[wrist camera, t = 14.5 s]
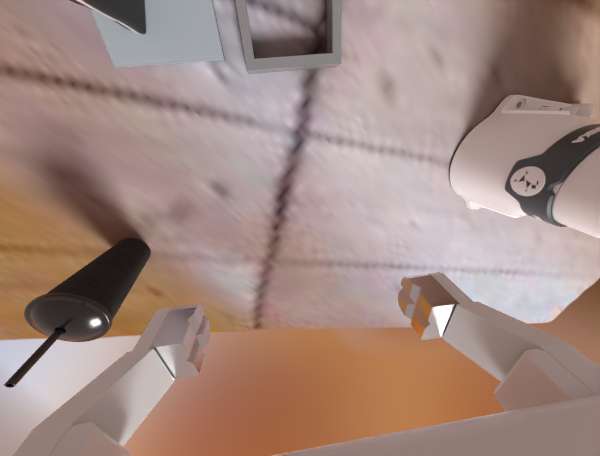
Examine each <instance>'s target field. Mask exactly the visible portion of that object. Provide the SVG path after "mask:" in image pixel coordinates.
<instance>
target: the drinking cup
mask: <svg viewBox="0 0 600 456" xmlns="http://www.w3.org/2000/svg"><path fill="white" fill-rule="evenodd" d="M150 254H151V252H150V249H149V247H148V246H147V245H146V244H145V243H144V242H142V241H140V240H137V239H132V238H129V239H124V240H122V241H120V242H119V243H117V244H116V245H114V246H113V247H112V248H110V249H109V250H107V251H106V252H105V253H103V254H102V255H100V256H99V257H98V258H96V259H95V260H93V261H92V262H90V263H89V264H88V265H86V266H85V267H83V268H82V269H81V270H79V271H78V272H76V273H75V274H74V275H72V276H71V277H69V278H68V279H67V280H65V281H64V282H62V283H61V284H59V285H58V286H57V287H55V288H54V289H52V290H51V291H50V292H48V293H47V294H45V295H42V296H39V297H37V298H35V299H34V300H32V301H31V302H30V303H29V304H28V305H27V306H26V308H25V311H24V315H25V319H26V321H27V322H28V323H29V325H30V326H31V327H33V328H34V329H35V330H37V331H38V332H40V333H42V334H44V335H46V336H48V337H49V338H48V339H47V340H46V341H45V342H44V343H43V344H42V345H41V346H40V347H39V348H38V349H37V350H36V351H35V353H34V354H33V355H32V356H31V357H30V358H29V359H28V360H27V361H26V362H25V363H24V364H23V365H22V366H21V367H20V368H19V369H18V370H17V372H16V373H15V374H14V375H13V376H12V377H11V378H10V379H9V380H8V381H7V382H6V383H5V384H4V385H5V386H6V387H14V386H15V385H16V384H17V383H18V382H19V381H20V380H21V379H22V378H23V376H24V375H25V374H26V373H27V372H28V371H29V370H30V369H31V367H32V366H33V365H34V364H35V363H36V362H37V361H38V360H39V359H40V358H41V357H42V355H43V354H44V353H45V352H46V351H47V350H48V349H49V348H50V347H51V345H52V344H53V343H54V342H55V341H56V340H57V339H58V340H64V341H71V342H85V341H91V340H95V339H98V338H100V337H102V336H103V335H105V334H106V333H107V332H108V331H109V329H110V328H111V326H112V320H113V318H114V316H115V315H116V313H117V311H118V310H119V308H120V306H121V304H122V303H123V301H124V299H125V298H126V296H127V294H128V293H129V291H130V289H131V287H132V286H133V284H134V282H135V281H136V279H137V277H138V276H139V274H140V272H141V271H142V269H143V267H144V265H145V264H146V262H147V260H148V259H149V257H150Z"/></svg>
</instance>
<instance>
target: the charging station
mask: <svg viewBox="0 0 600 456" xmlns="http://www.w3.org/2000/svg"><path fill="white" fill-rule="evenodd" d="M235 2H236V8H237V14H238V20H239V26H240V32H241V38H242V44H243V50H244V56H245V62H246V68H247V72H248V74H253V73H266V72H278V71H291V70H304V69H316V68H329V67H336V66H337V65H339V64H341V17H342V0H326V19H327V54H313V55H300V56H286V57H272V58H258V59H254V53H253V46H252V40H251V33H250V26H249V20H248V13H247V6H246V0H235Z"/></svg>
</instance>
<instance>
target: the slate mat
mask: <svg viewBox="0 0 600 456" xmlns="http://www.w3.org/2000/svg"><path fill="white" fill-rule="evenodd" d="M90 10H91V12H92V15H93V17H94V19H95V22H96V24H97V26H98V29H99V31H100V34H101V36H102V38H103V41H104V43H105V46H106V48H107V50H108V53H109V55H110V57H111V60H112V62H113V65H114V67H117V68H121V67H135V66H149V65H163V64H177V63H191V62H204V61H218V60H225V59H224V54H223V49H222V45H221V40H220V35H219V30H218V25H217V20H216V15H215V11H214V6H213V1H212V0H145V14H146V34H141V33H140V34H137V33H134V32H133V31H132V30H129V29H126V28H125V27H123V26H121V25H119V24H118V23H116V22H115V21H114V20H112V19H110V18H108V17H106V16H104V15H102V14H100V13H98V12H96V11H94V10H92V9H90Z"/></svg>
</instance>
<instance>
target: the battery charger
mask: <svg viewBox="0 0 600 456" xmlns="http://www.w3.org/2000/svg"><path fill="white" fill-rule="evenodd" d="M70 1H72V2H74V3H77V4H80V5H83V6H86V7H88V8H90V9H92V10H94V11H96V12H98V13H100V14H102V15H104V16H106V17H108V18H110V19H112V20H114V21H115V22H116V23H118V24H119V25H121V26H123V27H125V28H126V29H129V30H132V31H133V32H134V33H137V34H140V33H141V34H146V14H145V0H70Z"/></svg>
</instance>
